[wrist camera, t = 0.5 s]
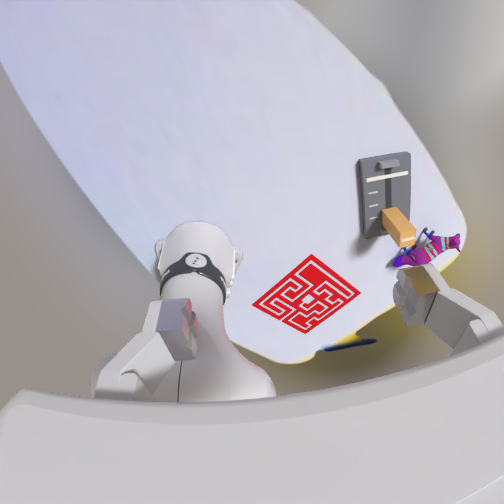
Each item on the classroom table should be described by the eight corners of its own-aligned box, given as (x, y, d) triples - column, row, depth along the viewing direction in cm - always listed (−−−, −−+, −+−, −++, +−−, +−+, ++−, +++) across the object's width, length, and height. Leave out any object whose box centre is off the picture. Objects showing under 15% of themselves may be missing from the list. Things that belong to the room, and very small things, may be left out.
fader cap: (395, 220, 59) (415, 244, 51) (381, 223, 59) (400, 249, 52) (396, 206, 57) (416, 230, 49) (381, 209, 57) (401, 234, 50)
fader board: (405, 225, 62) (411, 232, 59) (363, 235, 63) (368, 242, 60) (406, 151, 51) (414, 156, 49) (358, 159, 52) (364, 164, 50)
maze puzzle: (252, 303, 74) (252, 305, 73) (311, 252, 65) (311, 254, 65) (304, 332, 82) (305, 333, 82) (360, 291, 74) (360, 293, 73)
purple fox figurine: (446, 222, 62) (468, 246, 53) (393, 264, 69) (409, 292, 60) (442, 212, 60) (465, 236, 52) (387, 256, 67) (404, 285, 59)
